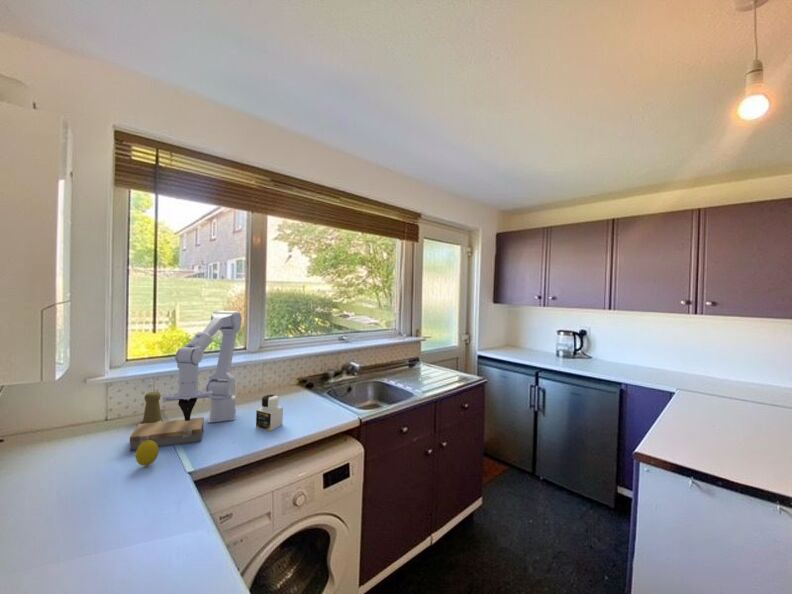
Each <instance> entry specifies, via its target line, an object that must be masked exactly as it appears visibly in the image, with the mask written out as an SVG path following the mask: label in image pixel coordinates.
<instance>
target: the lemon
mask: <svg viewBox="0 0 792 594" xmlns="http://www.w3.org/2000/svg"><path fill="white" fill-rule="evenodd" d="M158 455H159V447H158V445H157V444H156V442H154V441H151V440H146V441H145V442H143V443H141V444H140V445H139V446H138V448H137V450H136V451H135V459H136V461H135V462H137V464H139V465H140V466H144V467H148V466H149V465H152V464H153V463H154V462H155V461H156V460H157V458H158Z"/></svg>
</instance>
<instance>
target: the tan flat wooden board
mask: <svg viewBox="0 0 792 594" xmlns="http://www.w3.org/2000/svg"><path fill="white" fill-rule="evenodd" d="M204 420H205V417H195V418H190V420H189V421H185V418H184V419H176V420H175V419H174V420H167V421H166V420H165V421H158V422H154V423H139V424H137V426H136V427H135V429H134V430H133V432H132V433H131V435H130V436H129V443H130V442H135V441H140V443H143V442H145V441H146V440H151V439H159V438H167V437H175V436H183V437H190V436H192V434H199V433H201V431H202V426H203V422H204V423H205V421H204Z"/></svg>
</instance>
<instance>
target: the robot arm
mask: <svg viewBox="0 0 792 594" xmlns="http://www.w3.org/2000/svg"><path fill="white" fill-rule="evenodd" d="M242 319H243V318H242V315H241V313H240V311H239V310H237V311H236V310H219V309H216V310H214V311H213V313H212V314H211V316H210V322H209V323H208V324H207V326H206V327H205V328H204V330H203V331H202V332H197V333H196V334H195V335H194V336H193V338H192V339H191V340H190V341H189V342H188V343H187V344H186V345H185V346H183V347H181V348H178V350H177V352H176V354H175V356H174V360H175V362H176V364H177V365H176V368H177V369H178V392H177V393H169V394H164V395H162V403H167V402H172V401H173V402H174V401H178V406H179V407H180V409H181V411H182V414H183V417H184V419H185V421H189V420H190V419H191V415H192V411H193V409H194V408H195V405H196V403H197V400H198V399H207V398H208V399H209V400H210V401H209V404H210V405H209V415H208V420H207V423H218V422H219V423H220V422H227V421H234V420H235V418H236V411H237V409H236V395H234V393H235V391H236V377H235V376H234V375H233V374H232V373H231V369H232V363H233V356H234V351H235V347H236V346H235V345H236V339H237V333H238V332H240V330H241V324H242ZM218 331H220V332H221V333H222V338H221V344H220V348H219V355H218V360H217V365H216V370H215V372H214V373H213V374H211V375H210V376H209V377H208V380H207V383H206V385H205V388H204V389H205V390H201V391H200V390H199V363H201V361H202V359H203V356H204V355H205V351H206V349H208V347H209V346H210V345H211V343H212V338H213V336H214V335H215V334H216V333H218Z"/></svg>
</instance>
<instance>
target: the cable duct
mask: <svg viewBox="0 0 792 594" xmlns="http://www.w3.org/2000/svg"><path fill="white" fill-rule="evenodd" d="M204 423H205V421H204V422H203V426H202V431H201V433H199V434H192V436H190V437H183V436H175V437H167V438H159V439H151V441H154V442H156V444H157V445H158V448H164V447H170V446H171V447H172V446H181V445H187V444H194V443H201V442H202V438H203V434H204V428H205V427H204V425H205V424H204ZM140 444H141V443H140V441H135V442H130V441H129V452H133V451H135V452H136V451H137V448H138V446H139V445H140Z"/></svg>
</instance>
